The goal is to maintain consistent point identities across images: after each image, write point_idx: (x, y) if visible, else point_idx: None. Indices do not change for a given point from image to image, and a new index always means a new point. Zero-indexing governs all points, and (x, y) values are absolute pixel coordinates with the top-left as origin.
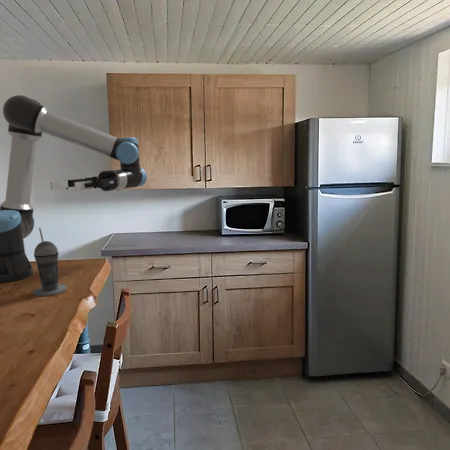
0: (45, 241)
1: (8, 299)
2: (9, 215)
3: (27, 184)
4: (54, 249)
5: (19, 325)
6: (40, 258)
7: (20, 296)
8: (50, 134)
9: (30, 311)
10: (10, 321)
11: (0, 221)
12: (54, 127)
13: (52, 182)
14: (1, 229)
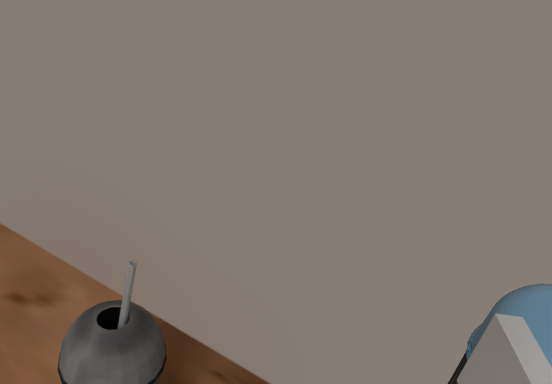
0: (122, 327)
1: (193, 348)
2: (536, 334)
3: None
4: (62, 348)
5: (9, 258)
6: (105, 325)
7: (181, 376)
8: None
9: (45, 312)
10: (51, 265)
11: (495, 306)
12: None
13: (497, 329)
14: (476, 333)
